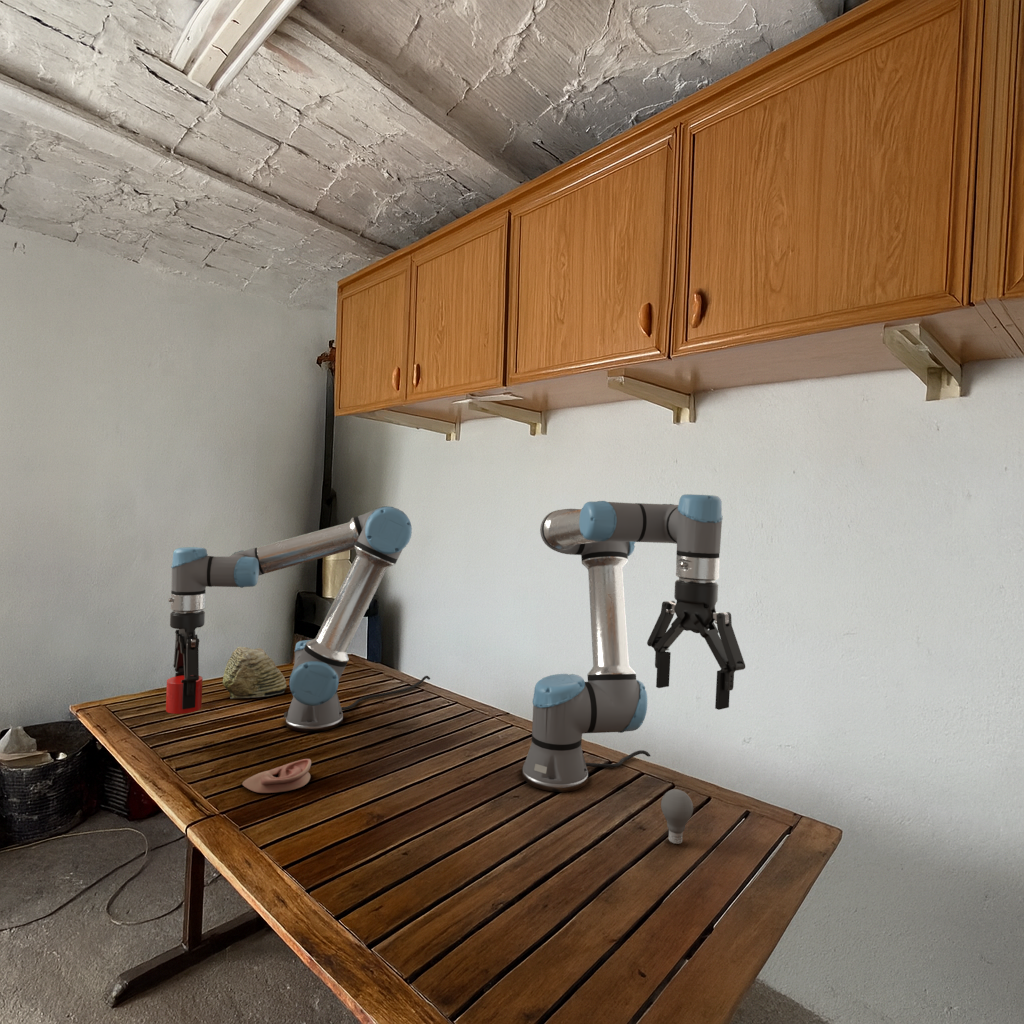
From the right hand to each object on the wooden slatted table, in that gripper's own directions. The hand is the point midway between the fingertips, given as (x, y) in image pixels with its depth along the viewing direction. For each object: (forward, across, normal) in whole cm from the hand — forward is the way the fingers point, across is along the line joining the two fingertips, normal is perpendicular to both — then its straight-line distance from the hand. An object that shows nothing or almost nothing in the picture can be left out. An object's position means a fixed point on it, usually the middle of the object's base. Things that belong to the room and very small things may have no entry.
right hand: (690, 697), depth 115 cm
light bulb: (+30, -5, +4) cm, 31 cm away
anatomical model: (+30, -66, -55) cm, 91 cm away
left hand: (+19, -96, -71) cm, 121 cm away
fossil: (+30, -131, -47) cm, 142 cm away
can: (+20, -96, -71) cm, 121 cm away
